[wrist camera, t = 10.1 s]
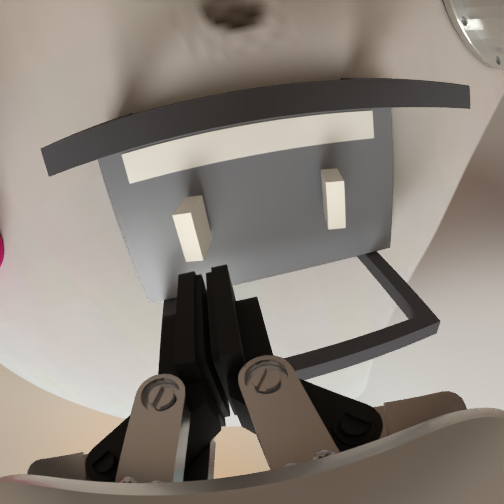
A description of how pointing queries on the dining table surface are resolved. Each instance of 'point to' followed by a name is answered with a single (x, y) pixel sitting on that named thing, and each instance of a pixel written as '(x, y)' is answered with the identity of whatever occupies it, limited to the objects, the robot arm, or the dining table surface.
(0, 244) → the pepper mill
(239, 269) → the breaker panel
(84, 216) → the dining table surface
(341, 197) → the cream cuboid
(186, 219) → the paddle
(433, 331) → the dark grey open frame
